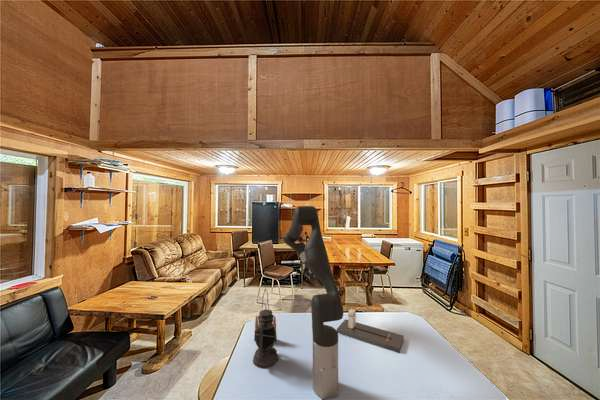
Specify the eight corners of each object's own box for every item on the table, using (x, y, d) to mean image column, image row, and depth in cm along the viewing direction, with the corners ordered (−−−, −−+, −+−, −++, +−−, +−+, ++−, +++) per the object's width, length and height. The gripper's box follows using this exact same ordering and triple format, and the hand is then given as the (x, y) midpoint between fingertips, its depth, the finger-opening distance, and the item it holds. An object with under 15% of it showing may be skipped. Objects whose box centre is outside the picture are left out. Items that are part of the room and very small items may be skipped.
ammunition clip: (276, 339, 113) (276, 315, 113) (276, 342, 111) (276, 316, 111) (255, 339, 114) (255, 314, 114) (254, 341, 112) (254, 316, 112)
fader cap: (348, 327, 120) (348, 311, 120) (351, 323, 123) (350, 308, 123) (353, 328, 118) (352, 313, 118) (355, 325, 122) (355, 310, 122)
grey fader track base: (336, 332, 119) (336, 328, 119) (345, 322, 129) (345, 319, 129) (399, 353, 103) (399, 348, 103) (403, 339, 113) (403, 335, 113)
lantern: (272, 371, 91) (273, 295, 92) (247, 367, 93) (248, 293, 94) (281, 351, 103) (281, 284, 104) (259, 348, 106) (259, 283, 106)
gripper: (306, 257, 124) (325, 282, 118) (318, 252, 136) (336, 275, 130) (298, 265, 127) (316, 291, 121) (310, 260, 139) (328, 283, 133)
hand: (327, 282), depth 125 cm, fingers open, 8 cm apart
